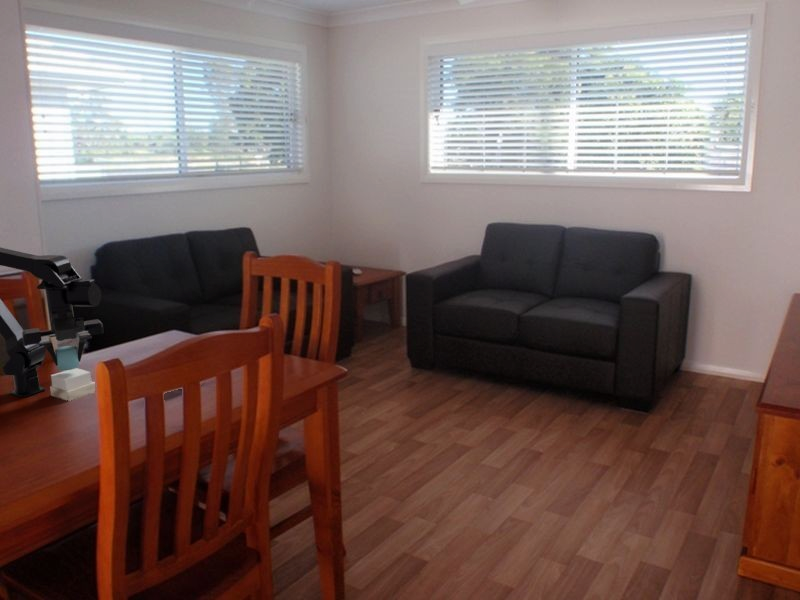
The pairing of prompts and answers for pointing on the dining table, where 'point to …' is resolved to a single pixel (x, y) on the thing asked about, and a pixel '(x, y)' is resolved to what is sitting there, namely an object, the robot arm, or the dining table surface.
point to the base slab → (73, 392)
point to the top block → (71, 379)
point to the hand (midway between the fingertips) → (67, 363)
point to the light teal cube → (67, 358)
